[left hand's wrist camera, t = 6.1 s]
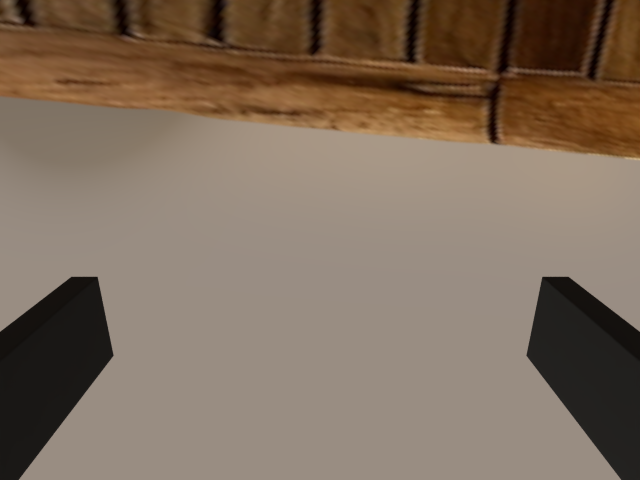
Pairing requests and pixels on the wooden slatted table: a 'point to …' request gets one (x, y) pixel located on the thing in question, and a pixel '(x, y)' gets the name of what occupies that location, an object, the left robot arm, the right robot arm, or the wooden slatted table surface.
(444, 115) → the wooden slatted table surface
